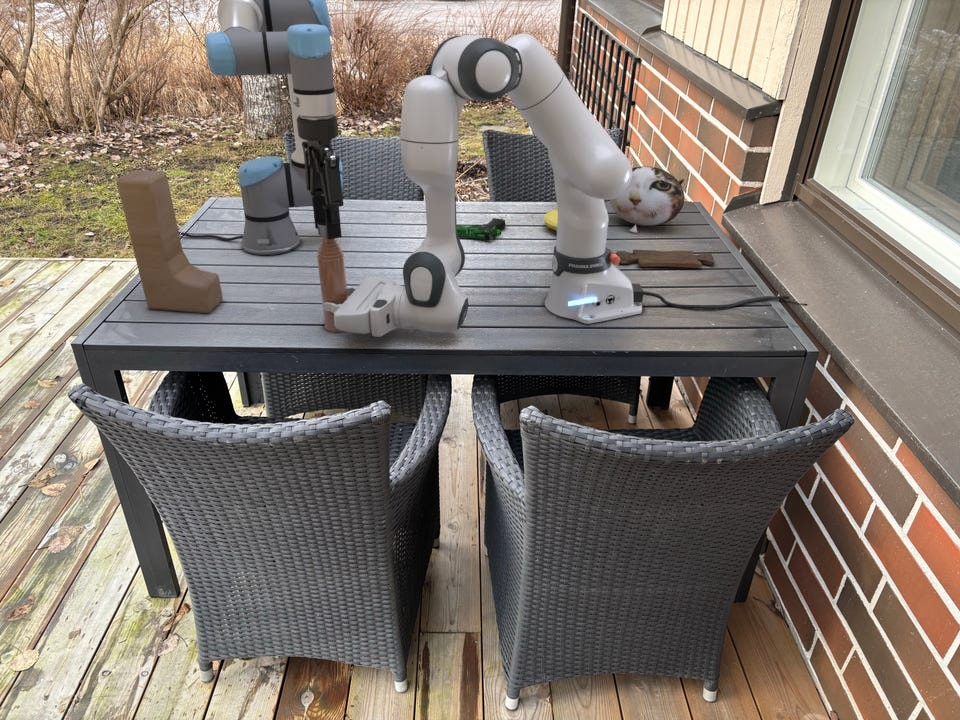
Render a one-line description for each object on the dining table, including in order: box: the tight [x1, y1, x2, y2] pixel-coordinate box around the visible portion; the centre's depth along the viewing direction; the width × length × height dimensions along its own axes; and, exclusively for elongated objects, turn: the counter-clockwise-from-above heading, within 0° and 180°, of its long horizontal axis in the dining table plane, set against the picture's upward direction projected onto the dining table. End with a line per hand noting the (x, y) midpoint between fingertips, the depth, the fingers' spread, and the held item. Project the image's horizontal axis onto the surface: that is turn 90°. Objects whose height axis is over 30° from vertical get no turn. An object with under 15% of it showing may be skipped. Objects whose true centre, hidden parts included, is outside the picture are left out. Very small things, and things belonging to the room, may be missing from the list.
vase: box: [543, 209, 558, 232], centre depth 209 cm, size 16×16×7 cm
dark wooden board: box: [615, 249, 715, 269], centre depth 190 cm, size 26×2×10 cm
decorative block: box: [116, 169, 224, 314], centre depth 157 cm, size 8×15×30 cm, turn 82°
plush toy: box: [609, 165, 685, 233], centre depth 210 cm, size 22×18×20 cm
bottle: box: [316, 236, 349, 333], centre depth 151 cm, size 6×6×23 cm
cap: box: [317, 220, 327, 237], centre depth 146 cm, size 4×4×2 cm
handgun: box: [457, 217, 506, 242], centre depth 207 cm, size 16×3×15 cm
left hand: (328, 232), depth 146 cm, fingers open, 6 cm apart
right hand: (330, 298), depth 154 cm, fingers closed on bottle, 5 cm apart
